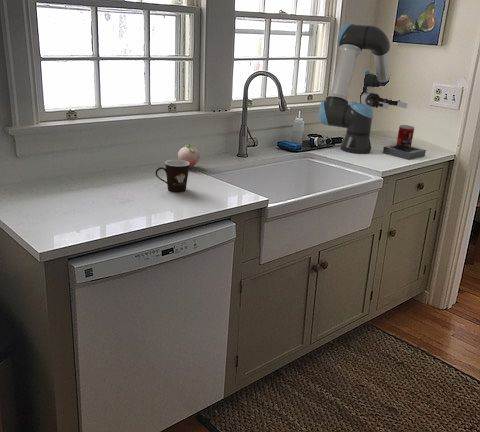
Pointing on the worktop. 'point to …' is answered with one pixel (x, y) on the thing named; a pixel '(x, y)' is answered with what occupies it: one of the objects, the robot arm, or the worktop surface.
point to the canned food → (405, 135)
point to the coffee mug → (176, 175)
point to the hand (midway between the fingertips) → (397, 106)
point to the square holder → (404, 151)
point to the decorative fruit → (189, 155)
